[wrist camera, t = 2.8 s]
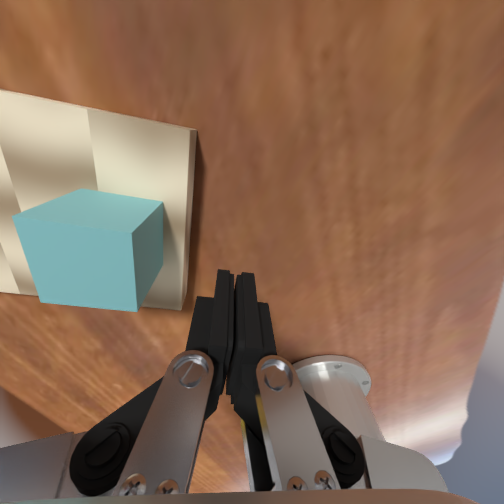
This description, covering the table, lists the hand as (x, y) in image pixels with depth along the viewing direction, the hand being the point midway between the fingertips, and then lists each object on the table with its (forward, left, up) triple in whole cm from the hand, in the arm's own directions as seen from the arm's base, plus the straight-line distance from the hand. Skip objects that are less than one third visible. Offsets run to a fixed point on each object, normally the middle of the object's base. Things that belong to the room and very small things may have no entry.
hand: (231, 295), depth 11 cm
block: (-1, +7, -7) cm, 10 cm away
